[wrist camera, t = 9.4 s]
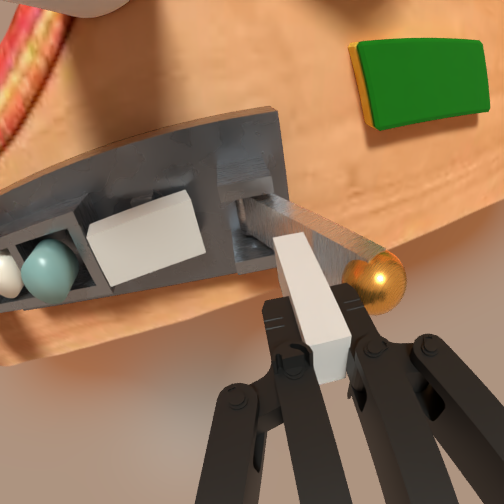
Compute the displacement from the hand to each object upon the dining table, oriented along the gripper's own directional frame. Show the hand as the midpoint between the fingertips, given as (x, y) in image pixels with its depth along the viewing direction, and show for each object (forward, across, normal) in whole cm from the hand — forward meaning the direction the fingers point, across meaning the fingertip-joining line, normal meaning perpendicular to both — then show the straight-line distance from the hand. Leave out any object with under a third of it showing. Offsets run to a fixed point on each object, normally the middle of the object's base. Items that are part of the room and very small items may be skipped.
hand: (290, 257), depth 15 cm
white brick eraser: (+5, -8, 0) cm, 10 cm away
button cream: (+7, -23, 0) cm, 24 cm away
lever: (+6, -2, 0) cm, 7 cm away
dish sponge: (+11, +16, +8) cm, 21 cm away
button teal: (+5, -16, 0) cm, 17 cm away
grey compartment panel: (+10, -12, 0) cm, 16 cm away
